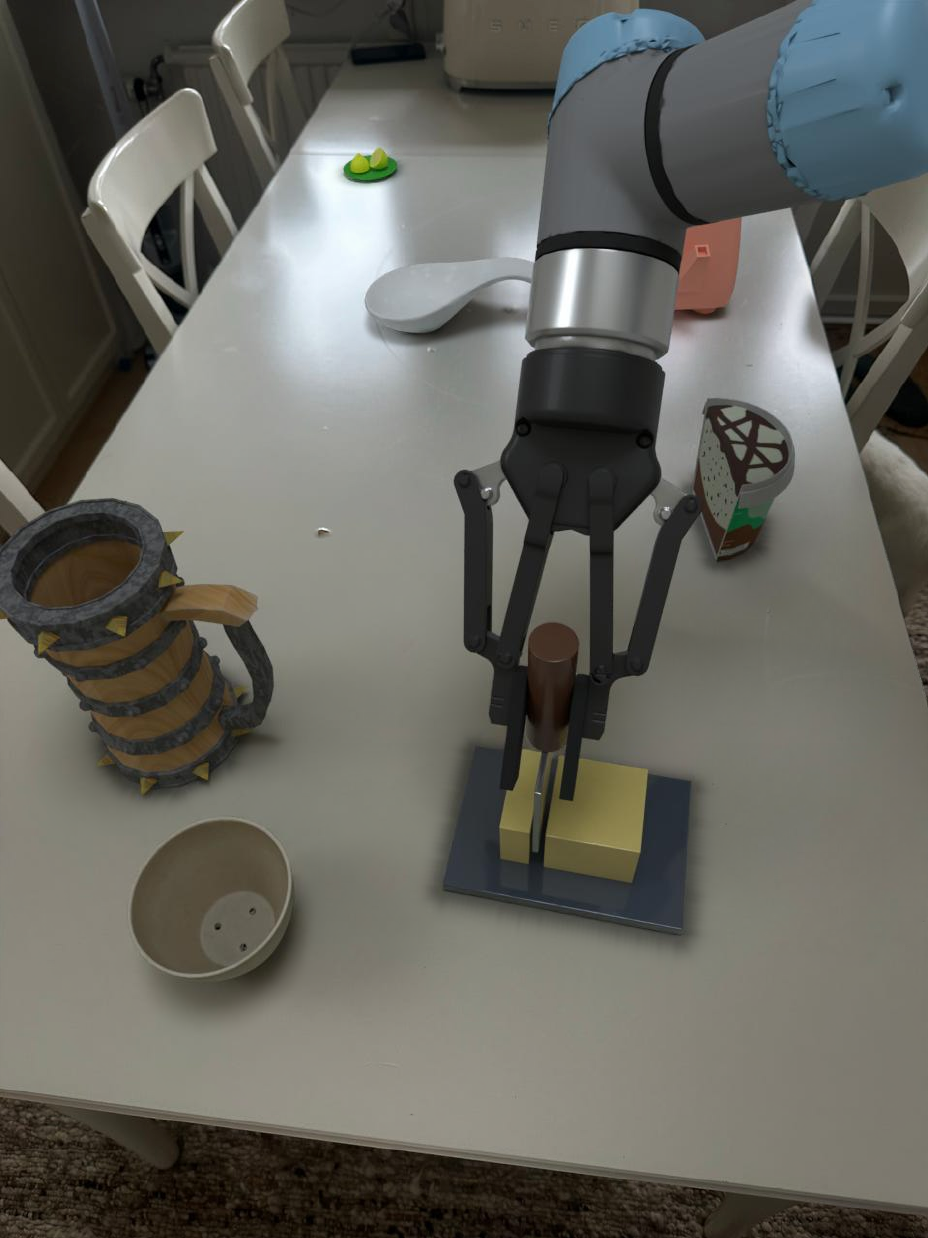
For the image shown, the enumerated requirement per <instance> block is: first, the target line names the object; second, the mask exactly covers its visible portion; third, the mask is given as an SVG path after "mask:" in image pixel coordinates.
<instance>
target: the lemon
mask: <svg viewBox="0 0 928 1238" xmlns="http://www.w3.org/2000/svg"><path fill="white" fill-rule="evenodd" d="M397 168H398V162H397V161H396V160H395V159H394V158H392V157H390V156H388V155H387V153H386V152H385V150H384V149H383V148H382V147H377V148H376V149H375V150H373V153H372V154H368V155H361V153H360V152H357V153H356V154H355V156H354V157H353V158H352V159H351V160H350V161H348V162H347V163H345V164H344V166H343V173H344V174H345V175H346V176H347V177H349V178H352V179H355V180H359V181H377V180H379V179H383V178H386V177H387V176H389V175H391V174H393V173H394V172H395V171H396V170H397Z"/></svg>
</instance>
